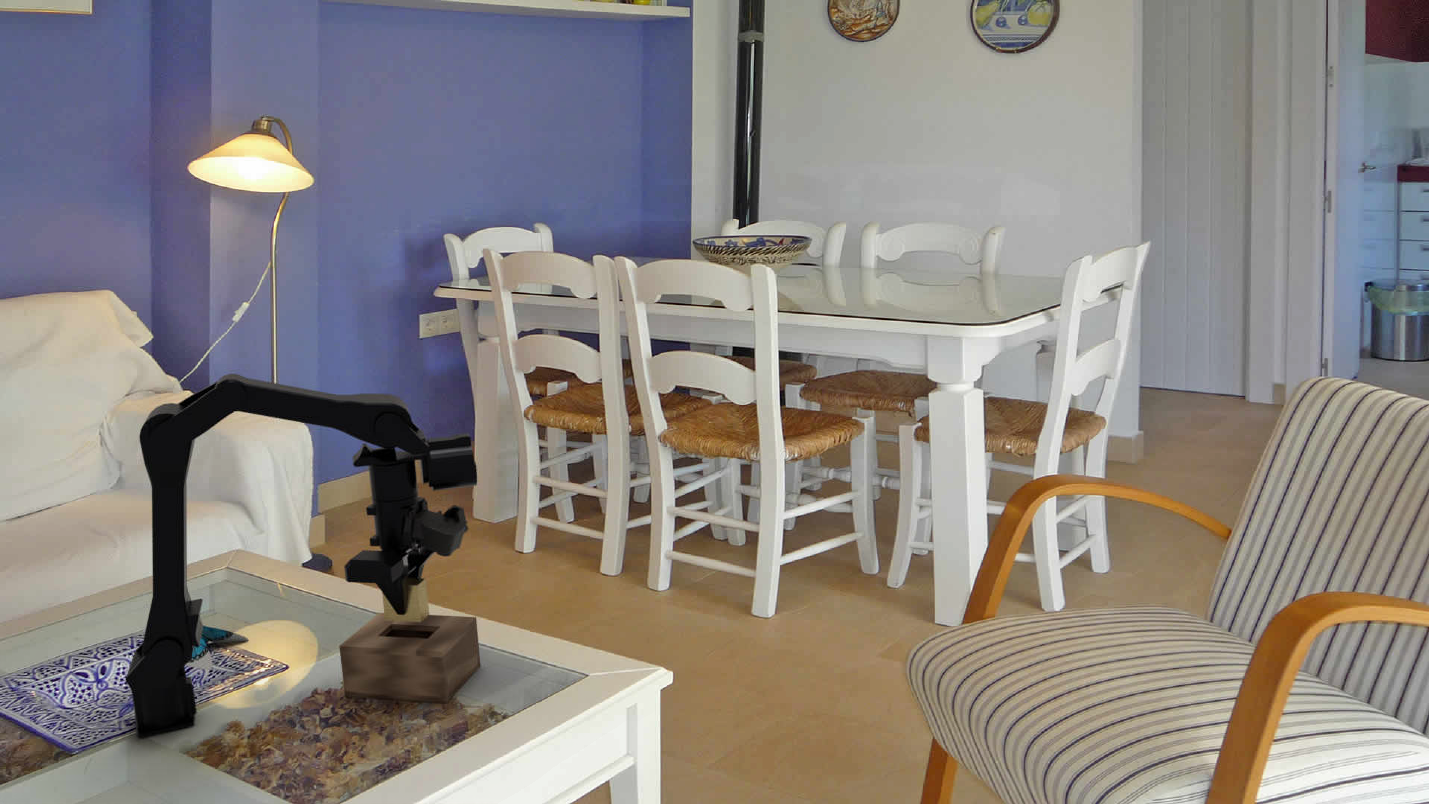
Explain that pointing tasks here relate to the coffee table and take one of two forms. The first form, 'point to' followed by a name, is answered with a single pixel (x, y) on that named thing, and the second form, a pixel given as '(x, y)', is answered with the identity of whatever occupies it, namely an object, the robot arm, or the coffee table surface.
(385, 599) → the wooden plank piece
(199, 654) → the decorative butterfly
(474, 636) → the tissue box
